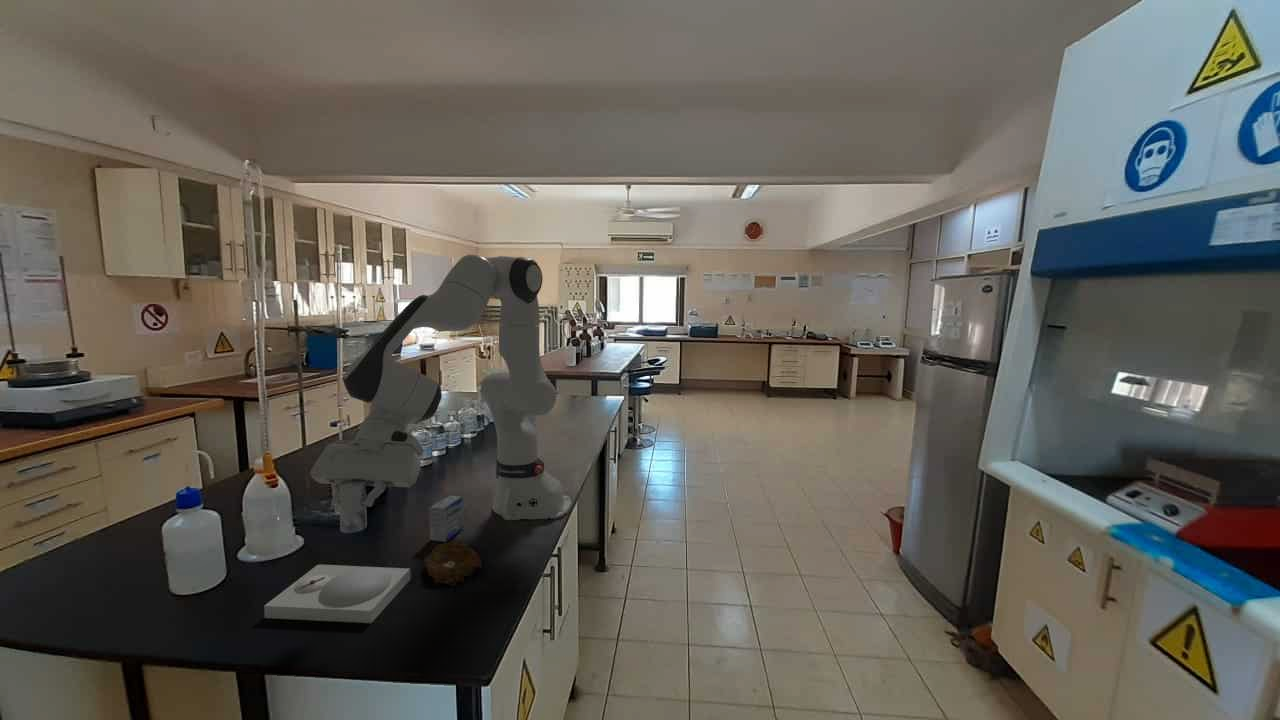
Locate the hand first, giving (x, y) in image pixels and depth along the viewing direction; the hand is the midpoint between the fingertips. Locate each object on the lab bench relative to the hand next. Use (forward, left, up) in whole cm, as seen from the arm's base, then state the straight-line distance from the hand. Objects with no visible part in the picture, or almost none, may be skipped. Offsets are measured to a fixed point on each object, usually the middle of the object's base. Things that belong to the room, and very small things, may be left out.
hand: (351, 505), depth 91 cm
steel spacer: (0, -1, -5) cm, 5 cm away
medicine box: (-6, -28, -20) cm, 35 cm away
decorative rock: (-14, -13, -20) cm, 28 cm away
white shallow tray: (+3, -1, -20) cm, 20 cm away
